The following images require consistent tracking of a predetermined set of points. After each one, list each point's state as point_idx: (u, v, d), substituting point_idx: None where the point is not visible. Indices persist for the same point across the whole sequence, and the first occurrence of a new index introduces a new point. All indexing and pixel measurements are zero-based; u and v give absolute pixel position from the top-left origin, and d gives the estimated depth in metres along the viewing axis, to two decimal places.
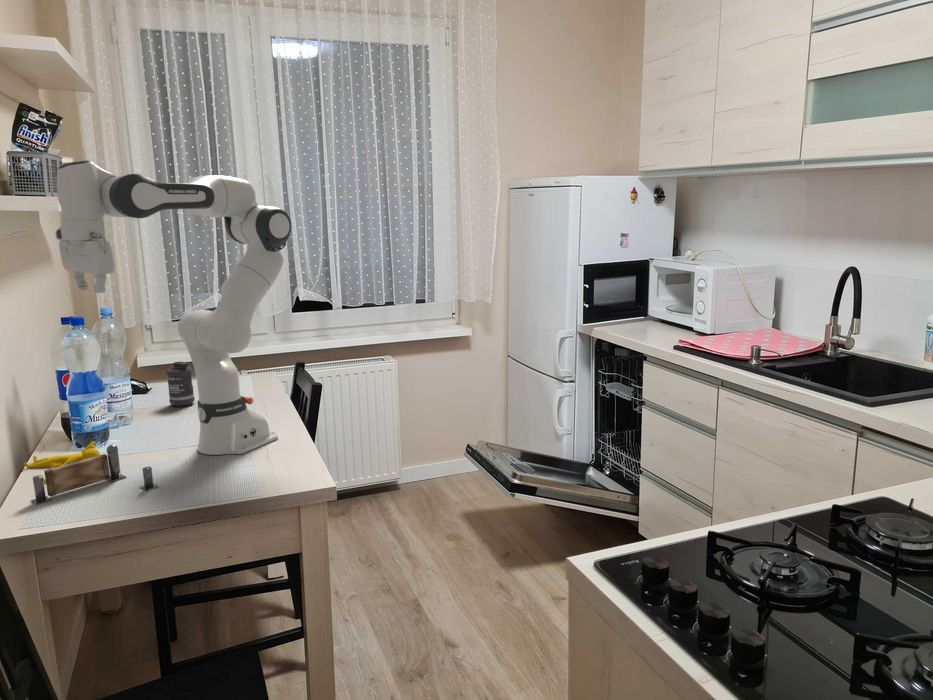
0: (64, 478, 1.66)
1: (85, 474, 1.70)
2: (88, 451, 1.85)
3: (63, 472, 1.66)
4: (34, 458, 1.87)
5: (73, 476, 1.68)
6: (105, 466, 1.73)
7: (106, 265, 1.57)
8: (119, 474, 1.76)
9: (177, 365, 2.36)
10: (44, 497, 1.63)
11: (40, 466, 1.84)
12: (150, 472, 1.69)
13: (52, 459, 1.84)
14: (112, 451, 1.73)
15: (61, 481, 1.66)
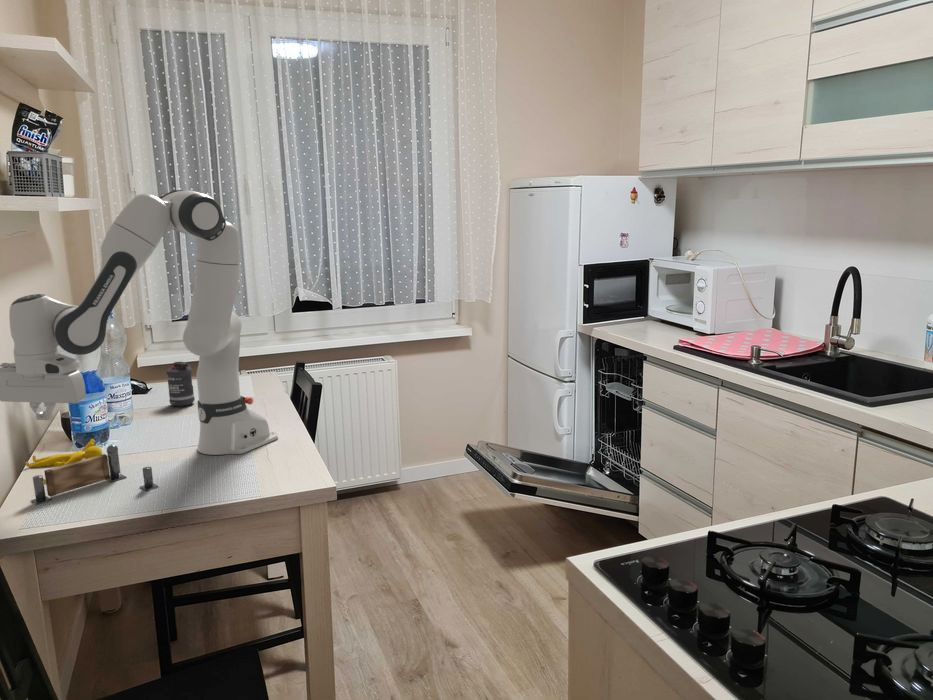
0: (64, 478, 1.66)
1: (85, 474, 1.70)
2: (91, 449, 1.87)
3: (63, 472, 1.66)
4: (33, 458, 1.87)
5: (73, 476, 1.68)
6: (105, 466, 1.73)
7: None
8: (119, 474, 1.76)
9: (177, 365, 2.36)
10: (44, 497, 1.63)
11: (42, 465, 1.84)
12: (150, 472, 1.69)
13: (54, 458, 1.85)
14: (112, 451, 1.73)
15: (61, 481, 1.66)
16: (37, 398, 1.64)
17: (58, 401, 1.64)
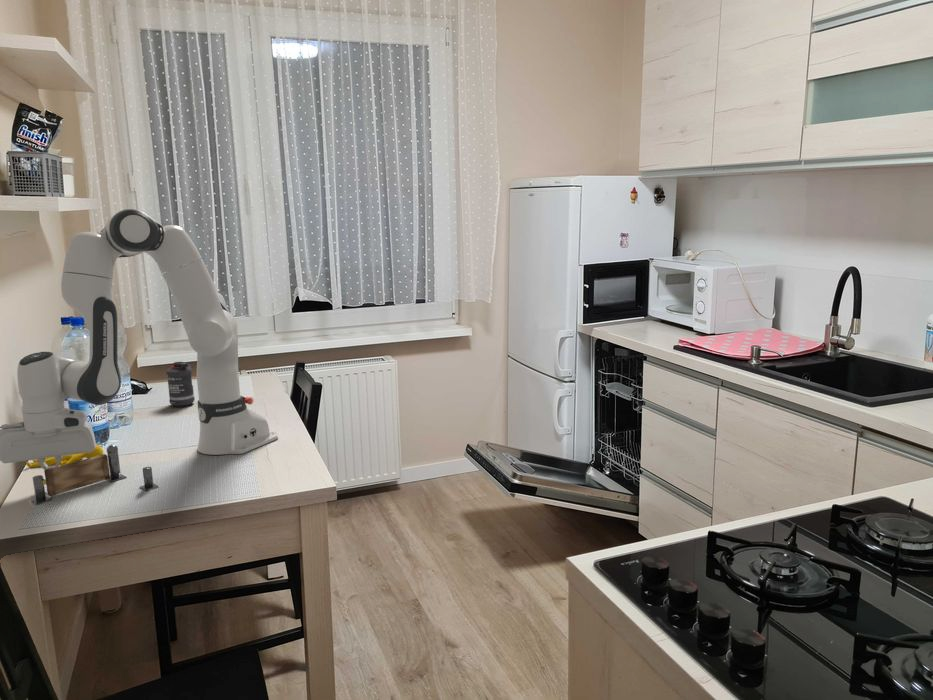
0: (64, 478, 1.66)
1: (85, 474, 1.70)
2: None
3: (63, 472, 1.66)
4: None
5: (73, 476, 1.68)
6: (105, 466, 1.73)
7: None
8: (119, 474, 1.76)
9: (177, 365, 2.36)
10: (44, 497, 1.63)
11: None
12: (150, 472, 1.69)
13: None
14: (112, 451, 1.73)
15: (61, 481, 1.66)
16: (49, 453, 1.68)
17: (73, 453, 1.70)
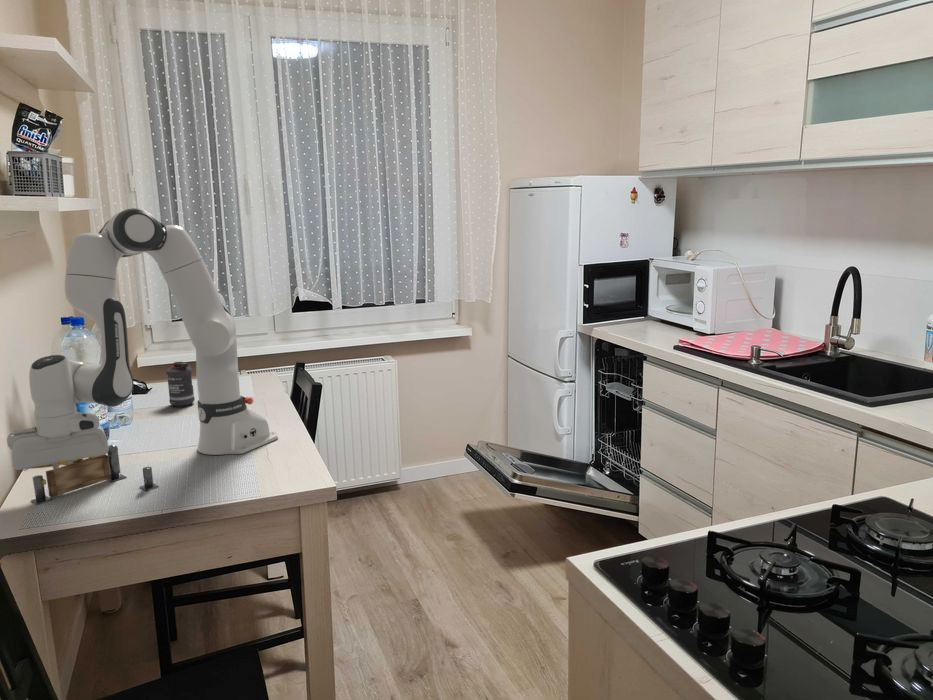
0: (65, 479, 1.66)
1: (86, 474, 1.70)
2: None
3: (64, 473, 1.65)
4: None
5: (74, 477, 1.67)
6: (105, 466, 1.73)
7: None
8: (119, 474, 1.76)
9: (177, 365, 2.36)
10: (44, 497, 1.63)
11: None
12: (150, 472, 1.69)
13: None
14: (112, 451, 1.73)
15: (63, 482, 1.65)
16: (63, 458, 1.66)
17: (87, 456, 1.69)
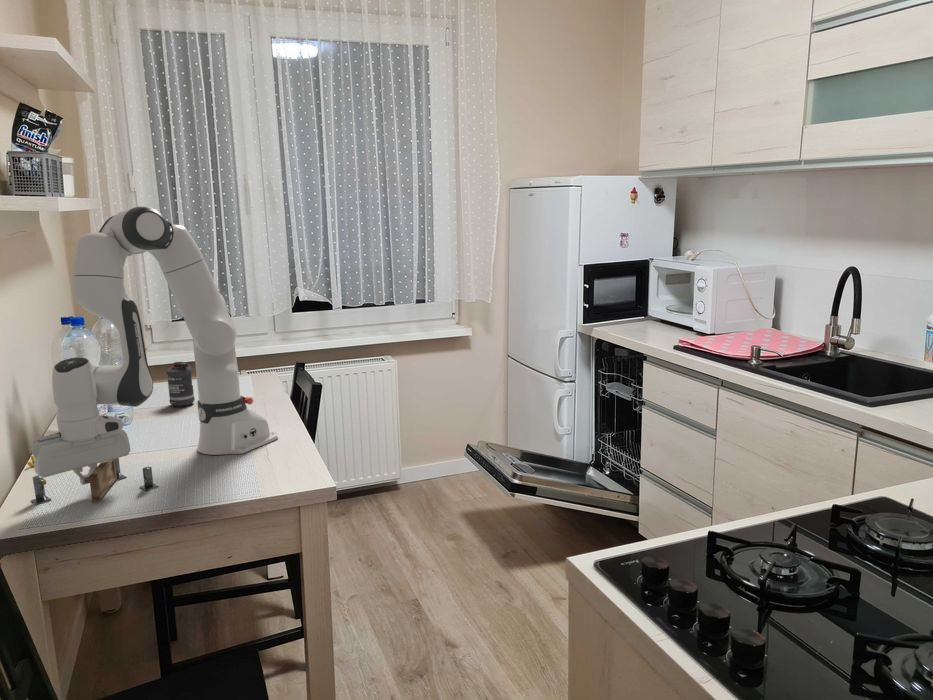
0: (101, 481, 1.64)
1: (107, 475, 1.69)
2: None
3: (100, 475, 1.64)
4: (32, 458, 1.88)
5: (104, 478, 1.66)
6: (114, 466, 1.73)
7: (36, 468, 1.57)
8: (119, 474, 1.76)
9: (177, 365, 2.36)
10: (44, 497, 1.63)
11: None
12: (150, 472, 1.69)
13: None
14: None
15: (100, 484, 1.63)
16: (88, 461, 1.63)
17: (111, 458, 1.67)
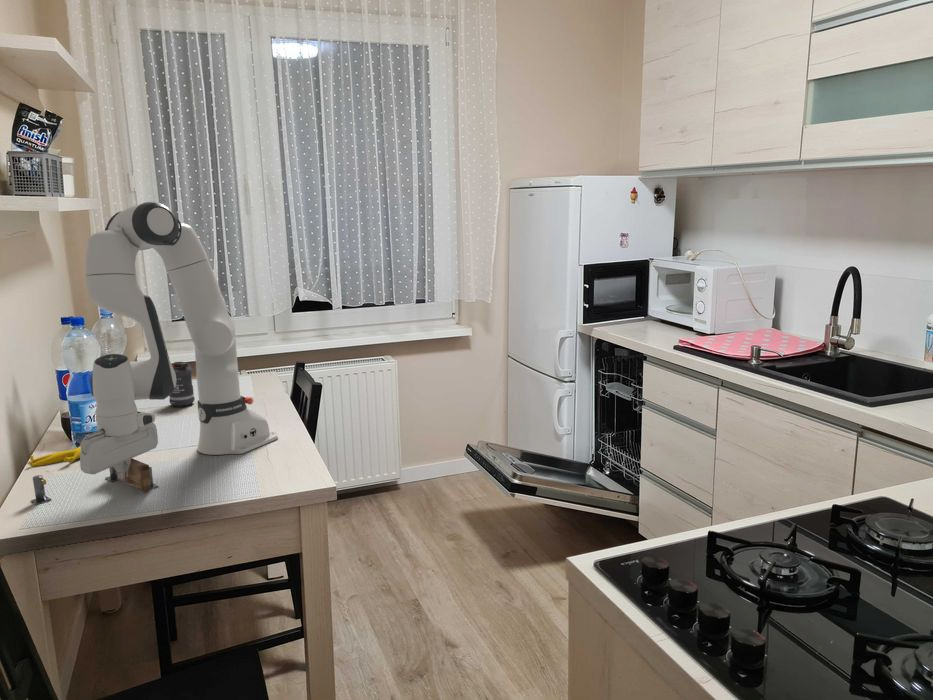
0: None
1: None
2: None
3: None
4: (31, 457, 1.88)
5: None
6: None
7: (84, 466, 1.57)
8: None
9: (177, 365, 2.36)
10: (44, 497, 1.63)
11: (45, 463, 1.86)
12: (150, 472, 1.69)
13: (57, 455, 1.87)
14: None
15: None
16: (127, 456, 1.66)
17: (144, 451, 1.71)
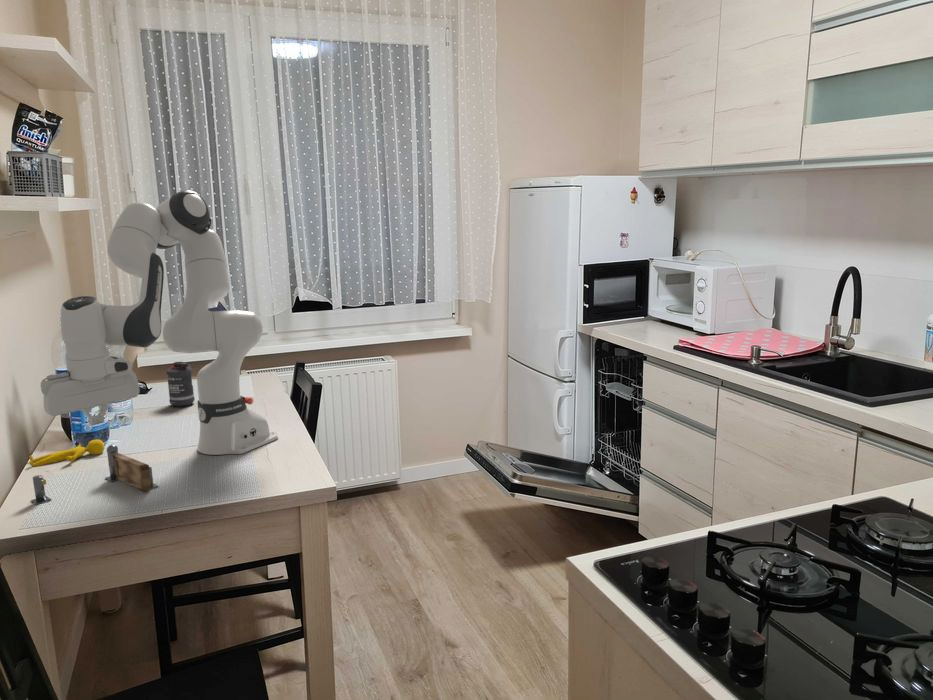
0: None
1: None
2: (94, 442, 1.93)
3: None
4: (31, 457, 1.88)
5: None
6: None
7: (45, 407, 1.55)
8: None
9: (177, 365, 2.36)
10: (44, 497, 1.63)
11: (46, 463, 1.86)
12: (150, 472, 1.69)
13: (57, 454, 1.88)
14: (112, 451, 1.73)
15: None
16: (98, 402, 1.62)
17: (120, 399, 1.66)
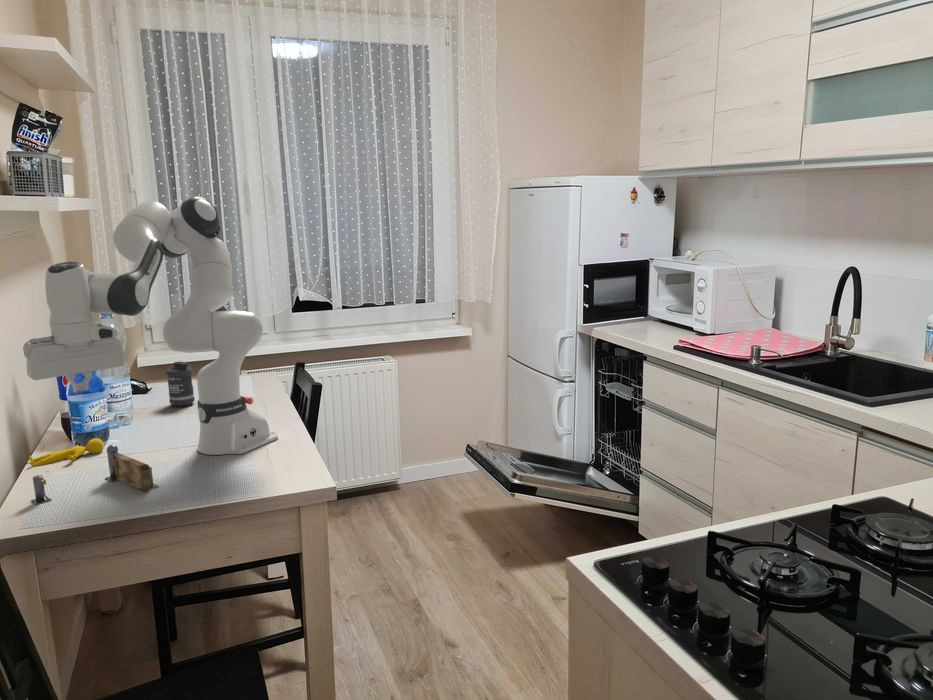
0: None
1: None
2: (94, 441, 1.93)
3: None
4: (30, 457, 1.88)
5: None
6: None
7: (28, 371, 1.55)
8: None
9: (177, 365, 2.36)
10: (44, 497, 1.63)
11: (46, 462, 1.86)
12: (150, 472, 1.69)
13: (57, 454, 1.88)
14: (112, 451, 1.73)
15: None
16: (81, 368, 1.61)
17: (105, 367, 1.65)
